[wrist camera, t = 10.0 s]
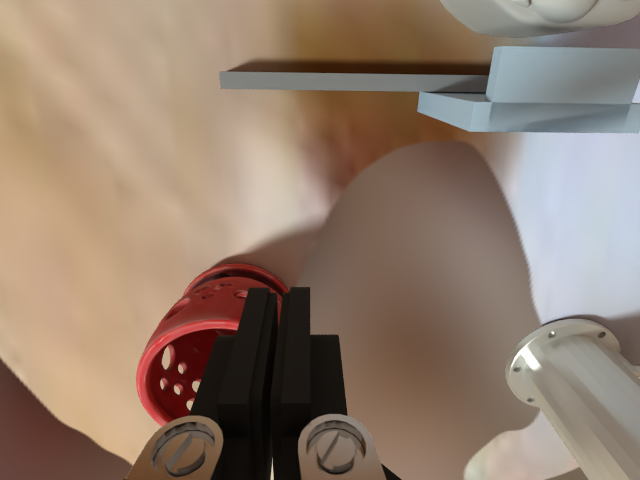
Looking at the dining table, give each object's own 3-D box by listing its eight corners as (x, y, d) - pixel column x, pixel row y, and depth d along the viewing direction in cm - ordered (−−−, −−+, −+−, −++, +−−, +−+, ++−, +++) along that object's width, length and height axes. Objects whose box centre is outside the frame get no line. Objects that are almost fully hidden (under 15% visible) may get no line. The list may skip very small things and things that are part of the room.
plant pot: (266, 370, 44) (252, 470, 33) (160, 318, 40) (105, 411, 29) (331, 289, 39) (339, 373, 28) (218, 224, 36) (179, 291, 25)
